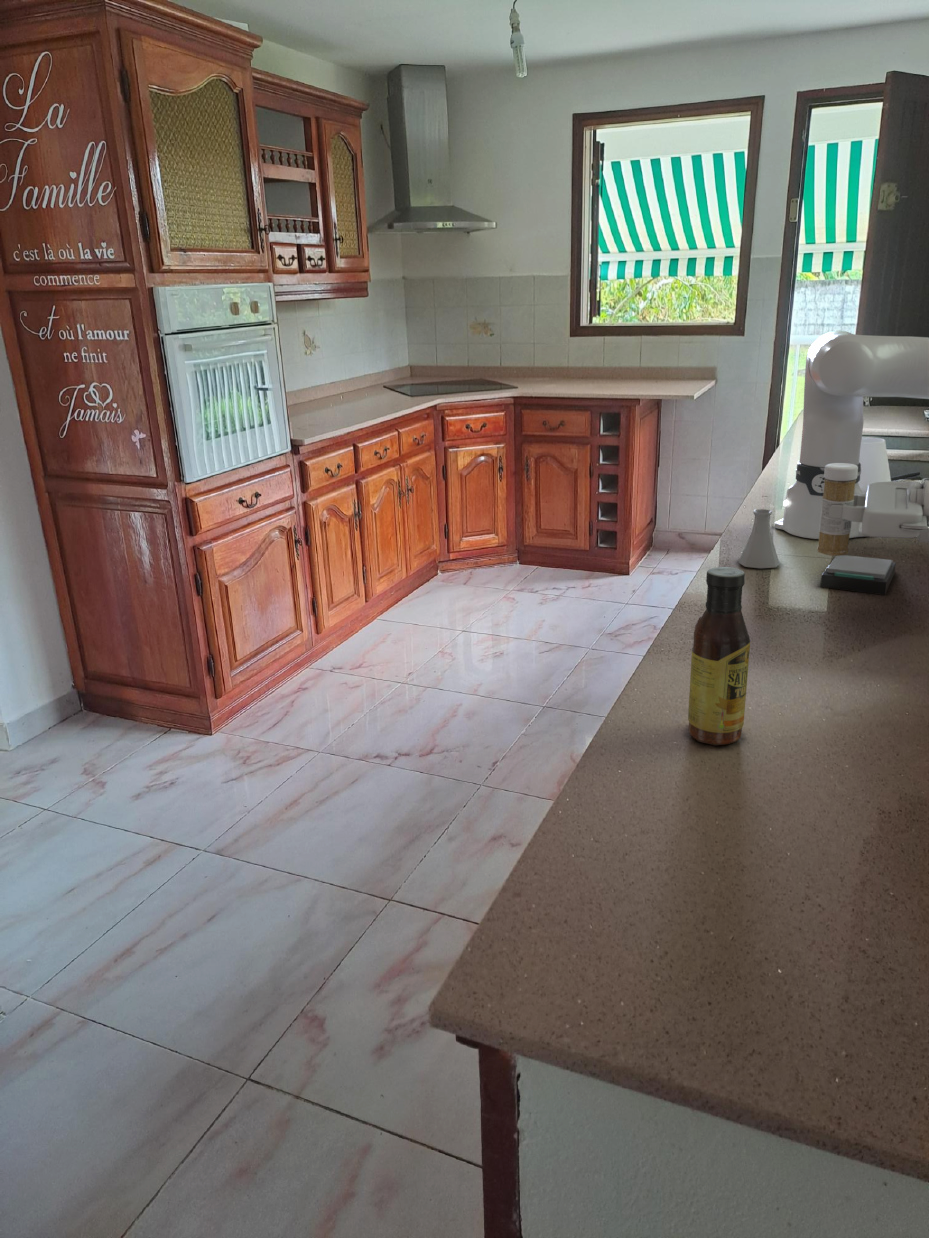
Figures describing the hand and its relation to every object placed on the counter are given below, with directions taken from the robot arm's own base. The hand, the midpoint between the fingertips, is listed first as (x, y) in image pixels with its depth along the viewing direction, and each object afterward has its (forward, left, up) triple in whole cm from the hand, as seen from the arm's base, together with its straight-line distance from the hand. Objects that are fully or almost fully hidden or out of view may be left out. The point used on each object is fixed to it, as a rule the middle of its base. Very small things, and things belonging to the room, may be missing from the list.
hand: (830, 506), depth 132 cm
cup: (-79, -7, -17) cm, 81 cm away
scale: (-18, +3, -17) cm, 25 cm away
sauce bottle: (+47, -3, -17) cm, 50 cm away
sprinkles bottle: (0, +1, -7) cm, 7 cm away
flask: (-21, -15, -17) cm, 31 cm away
